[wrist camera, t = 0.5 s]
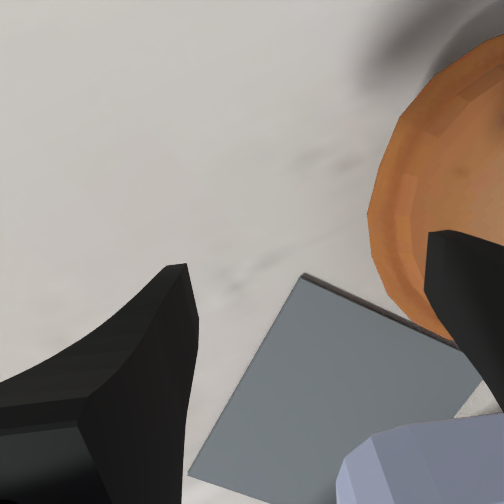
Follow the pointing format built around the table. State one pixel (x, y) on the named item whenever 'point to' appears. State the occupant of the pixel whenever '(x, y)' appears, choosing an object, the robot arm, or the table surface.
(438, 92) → the pie
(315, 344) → the charcoal mat
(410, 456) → the robot arm
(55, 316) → the table surface
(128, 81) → the table surface
